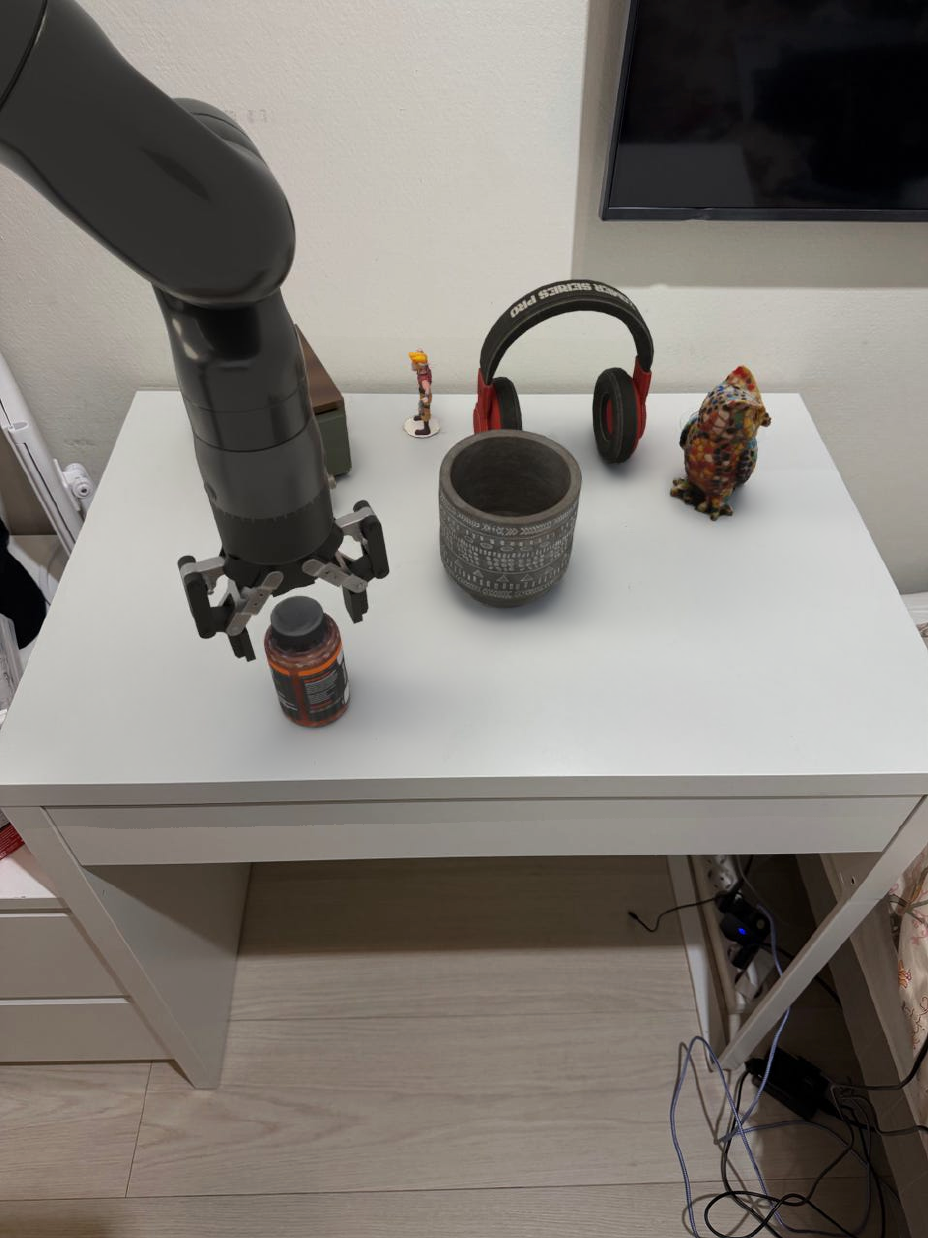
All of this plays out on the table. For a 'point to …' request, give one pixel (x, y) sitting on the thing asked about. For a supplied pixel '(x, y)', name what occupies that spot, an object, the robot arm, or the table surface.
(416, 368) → the action figure
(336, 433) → the drawer
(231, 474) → the robot arm
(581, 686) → the table surface
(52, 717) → the table surface
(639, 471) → the table surface
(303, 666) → the supplement bottle
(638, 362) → the headphones
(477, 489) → the planter
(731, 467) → the figurine
